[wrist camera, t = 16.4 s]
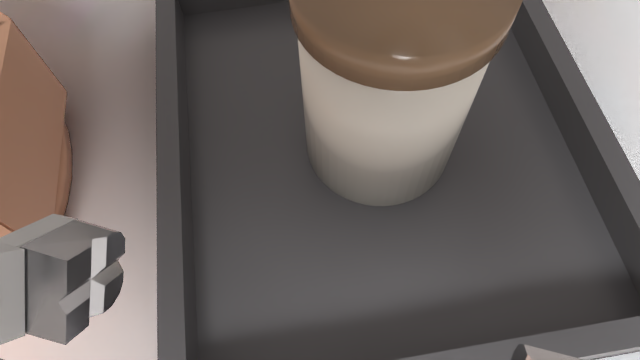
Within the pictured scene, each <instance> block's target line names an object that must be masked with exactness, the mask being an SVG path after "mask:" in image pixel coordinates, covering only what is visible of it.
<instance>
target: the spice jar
mask: <svg viewBox="0 0 640 360" xmlns="http://www.w3.org/2000/svg"><path fill="white" fill-rule="evenodd" d="M522 1H523V0H289V10H290V19H291V23H292V26H293V30H294V32H295V34H296V36H297V38H298V48H299V60H300V71H301V83H302V95H303V106H304V118H305V130H306V141H307V152H308V156H309V160H310V163H311V165H312V167H313V169H314V171H315V173H316V174H317V176H318V177H319V178H320V179H321V181H322V182H323V183H324V184H325V185H326V186H327V187H328V188H329V189H331V190H332V191H334V192H335V193H336V194H338V195H340V196H342V197H343V198H345V199H348V200H350V201H353V202H356V203H360V204H363V205H370V206H392V205H398V204H402V203H405V202H408V201H411V200H413V199H415V198H417V197H419V196H421V195H422V194H424V193H425V192H427V191H428V190H429V189H430V188H431V187H432V186H433V185H434V184H435V183H436V182H437V181H438V179H439V178H440V177H441V175H442V173H443V171H444V169H445V167H446V164H447V162H448V160H449V157H450V155H451V153H452V150H453V148H454V145H455V143H456V141H457V138H458V136H459V134H460V131H461V129H462V126H463V124H464V122H465V119H466V117H467V115H468V112H469V110H470V107H471V105H472V103H473V100H474V98H475V96H476V93H477V91H478V88H479V86H480V84H481V81H482V79H483V77H484V74H485V72H486V69H487V67H488V65H489V62H490V61H491V60H492V59H493V58H494V57H495V56H496V54H497V53H498V52H499V51H500V49H501V47H502V46H503V44H504V42H505V40H506V38H507V36H508V33H509V31H510V29H511V27H512V24H513V22H514V20H515V17H516V15H517V13H518V11H519V8H520V6H521V4H522Z"/></svg>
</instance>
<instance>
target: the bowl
mask: <svg viewBox="0 0 640 360" xmlns="http://www.w3.org/2000/svg"><path fill="white" fill-rule="evenodd" d="M66 98H67V92H66V90H65V89H64V87H63V86H62V85H61V83H60V82H59V81H58V79H57V78H56V77H55V76H54V74H53V73H52V72H51V70H50V69H49V68H48V66H47V65H46V64H45V63H44V61H43V60H42V59H41V57H40V56H39V55H38V53H37V52H36V51H35V50H34V48H33V47H32V46H31V44H30V43H29V42H28V40H27V39H26V38H25V37H24V35H23V34H22V33H21V31H20V30H19V29H18V27H17V26H16V25H15V24H14V22H13V21H12V20H11V18H9V17H8V16H6V15H4V14H3V13H1V12H0V237H3V236H5V235H7V234H9V233H11V232H14V231H16V230H18V229H20V228H23V227H25V226H27V225H29V224H31V223H34V222H36V221H38V220H40V219H43V218H45V217H47V216H49V215H51V214H59V215H64V213H65V210H66V207H67V204H68V198H69V191H70V185H71V179H72V151H71V144H70V138H69V132H68V129H67V126H66V123H65V120H64V117H65V107H66Z"/></svg>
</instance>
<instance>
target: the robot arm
mask: <svg viewBox="0 0 640 360" xmlns="http://www.w3.org/2000/svg"><path fill="white" fill-rule="evenodd" d="M124 253H125V238H124V236H123V235H122V233H121V232H118V231H115V230H111V229H108V228H105V227H101V226H98V225H95V224H91V223H88V222H85V221H81V220H78V219H76V218H72V217H68V216H64V215H59V214H51V215H49V216H47V217H45V218H43V219H40V220H38V221H36V222H34V223H31V224H29V225H27V226H25V227H23V228H20V229H18V230H16V231H14V232H11V233H9V234H7V235H5V236H3V237H0V345H1V344H4V343H6V342H9V341H12V340H14V339H17V338H20V337H22V336H25V333H26V334H29V335H33V336H36V337H40V338H43V339H47V340H50V341H54V342H57V343H61V344H64V345H66V344H67V343H68V342H69V341H71V340H72V339H73V338H74V337H75V336H77V335H78V334H79V333H80V332H81V331H83V330H84V329H85V328H86V327H88V326H89V317H92V316H95V315H99V314H102V313H104V312H105V311H106V310H108V309H109V308H110V307H111V306H112V305H113V303H114V302H115V300H116V298H117V297H118V295H119V293H120V290H121V287H122V283H123V273H124V271H123V269H122V268H121V266H120V264H119V262H118V259H119V258H120V257H121V256H122V255H123V254H124ZM0 360H3V359H0ZM511 360H583V359H579V358H576V357H572V356H568V355H564V354H560V353H556V352H552V351H548V350H544V349H540V348H536V347H532V346H528V345H524V344H518V346H517V347H516V349H515V350H514V352H513V355H512V358H511Z"/></svg>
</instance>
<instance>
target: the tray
mask: <svg viewBox="0 0 640 360" xmlns="http://www.w3.org/2000/svg"><path fill="white" fill-rule="evenodd" d="M156 152H157V342H158V360H511V358H512V355H513V352H514V350H515V349H516V347H517V346H518V344H524V345H528V346H532V347H536V348H540V349H544V350H548V351H552V352H556V353H560V354H564V355H568V356H572V357H576V358H579V359H583V360H595V359H600V358H606V357H611V356H617V355H622V354H628V353H633V352H638V351H640V181H639V179H638V177H637V175H636V173H635V172H634V170H633V168H632V166H631V164H630V162H629V161H628V159H627V157H626V155H625V153H624V151H623V149H622V148H621V146H620V144H619V142H618V140H617V138H616V137H615V135H614V133H613V131H612V129H611V127H610V125H609V124H608V122H607V120H606V118H605V116H604V114H603V113H602V111H601V109H600V107H599V105H598V103H597V101H596V100H595V98H594V96H593V94H592V92H591V90H590V89H589V87H588V85H587V83H586V81H585V79H584V77H583V76H582V74H581V72H580V70H579V68H578V66H577V65H576V63H575V61H574V59H573V57H572V55H571V53H570V52H569V50H568V48H567V46H566V44H565V42H564V41H563V39H562V37H561V35H560V33H559V31H558V29H557V28H556V26H555V24H554V22H553V20H552V18H551V17H550V15H549V13H548V11H547V9H546V7H545V5H544V4H543V2H542V0H523V1H522V4H521V6H520V8H519V11H518V13H517V15H516V17H515V20H514V22H513V24H512V27H511V29H510V31H509V33H508V36H507V38H506V40H505V42H504V44H503V46H502V47H501V49H500V51H499V52H498V53H497V54H496V56H495V57H494V58H493V59H492V60H491V61H490V62H489V65H488V67H487V69H486V72H485V74H484V77H483V79H482V81H481V84H480V86H479V88H478V91H477V93H476V96H475V98H474V100H473V103H472V105H471V107H470V110H469V112H468V115H467V117H466V119H465V122H464V124H463V126H462V129H461V131H460V134H459V136H458V138H457V141H456V143H455V145H454V148H453V150H452V153H451V155H450V157H449V160H448V162H447V164H446V167H445V169H444V171H443V173H442V175H441V177H440V178H439V179H438V181H437V182H436V183H435V184H434V185H433V186H432V187H431V188H430V189H429V190H428V191H427V192H425V193H424V194H422V195H421V196H419V197H417V198H415V199H413V200H411V201H408V202H405V203H402V204H398V205H392V206H370V205H363V204H360V203H356V202H353V201H350V200H348V199H345V198H343V197H342V196H340V195H338V194H336V193H335V192H334V191H332V190H331V189H329V188H328V187H327V186H326V185H325V184H324V183H323V182H322V181H321V179H320V178H319V177H318V176H317V174H316V173H315V171H314V169H313V167H312V165H311V163H310V160H309V156H308V152H307V141H306V130H305V118H304V106H303V95H302V83H301V71H300V60H299V48H298V38H297V36H296V34H295V32H294V30H293V26H292V23H291V19H290V10H289V0H156Z"/></svg>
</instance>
